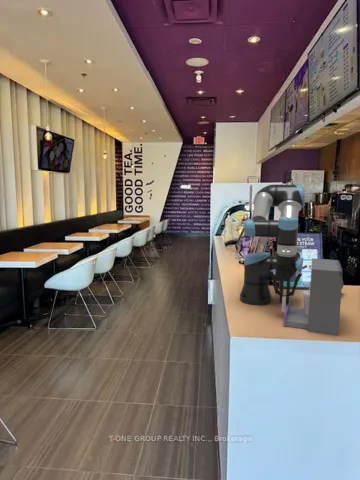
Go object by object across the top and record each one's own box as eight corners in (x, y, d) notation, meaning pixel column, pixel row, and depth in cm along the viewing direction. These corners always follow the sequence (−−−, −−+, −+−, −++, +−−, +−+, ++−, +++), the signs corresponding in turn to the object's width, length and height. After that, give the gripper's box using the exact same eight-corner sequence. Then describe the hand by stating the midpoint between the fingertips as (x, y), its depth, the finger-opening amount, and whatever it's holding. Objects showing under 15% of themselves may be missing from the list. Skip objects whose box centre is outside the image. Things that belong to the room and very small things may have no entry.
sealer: (307, 331, 131) (311, 269, 128) (308, 312, 152) (312, 258, 149) (338, 335, 127) (342, 271, 124) (334, 315, 149) (338, 260, 146)
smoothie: (298, 313, 144) (300, 280, 143) (313, 313, 145) (315, 280, 143) (305, 318, 138) (307, 284, 136) (321, 318, 139) (323, 284, 137)
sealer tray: (283, 326, 136) (283, 312, 135) (287, 310, 154) (287, 298, 154) (326, 332, 130) (327, 317, 130) (324, 314, 149) (325, 302, 148)
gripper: (268, 255, 141) (266, 311, 144) (303, 257, 136) (299, 316, 139) (271, 252, 148) (268, 306, 151) (303, 254, 143) (300, 310, 146)
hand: (283, 311), depth 145 cm, fingers closed
